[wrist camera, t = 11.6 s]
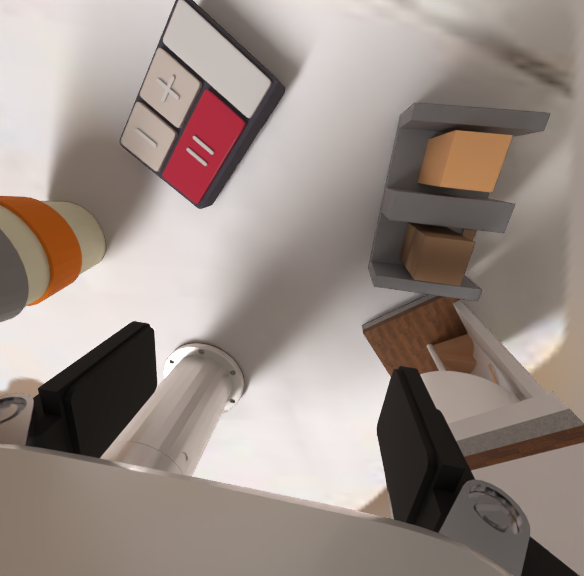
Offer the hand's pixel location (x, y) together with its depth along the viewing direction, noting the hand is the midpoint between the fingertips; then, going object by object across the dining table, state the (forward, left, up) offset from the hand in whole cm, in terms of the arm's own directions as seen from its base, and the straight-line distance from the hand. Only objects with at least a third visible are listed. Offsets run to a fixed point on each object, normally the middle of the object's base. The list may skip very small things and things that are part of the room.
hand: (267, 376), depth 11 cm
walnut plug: (+1, -12, -24) cm, 27 cm away
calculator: (+11, +13, -26) cm, 31 cm away
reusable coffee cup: (-4, +32, -25) cm, 41 cm away
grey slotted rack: (+5, -12, -25) cm, 28 cm away
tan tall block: (+9, -12, -24) cm, 28 cm away
